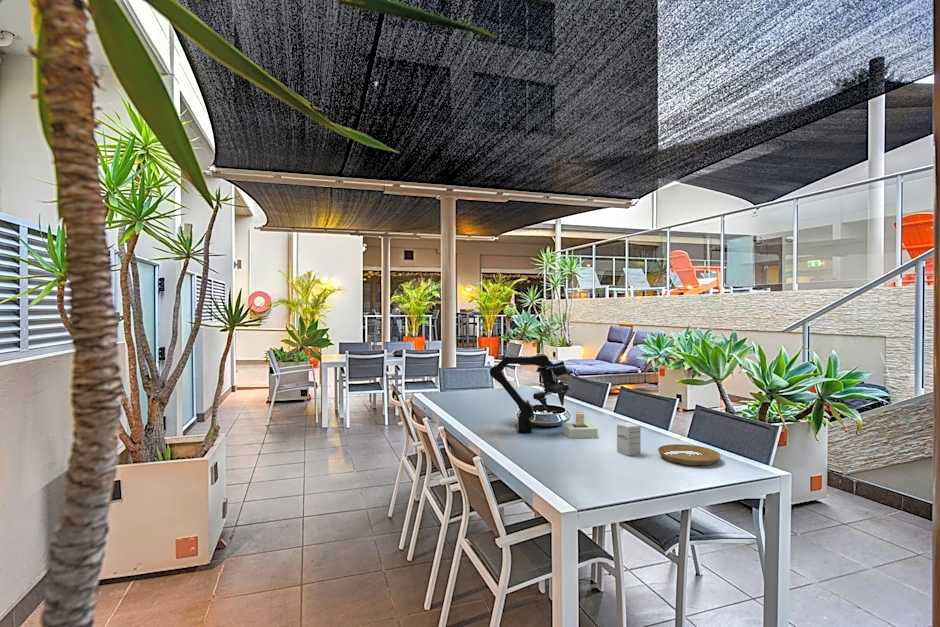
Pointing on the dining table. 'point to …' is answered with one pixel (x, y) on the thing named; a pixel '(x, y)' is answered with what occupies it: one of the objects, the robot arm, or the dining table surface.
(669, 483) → the dining table surface
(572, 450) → the dining table surface
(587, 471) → the dining table surface
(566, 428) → the slot box
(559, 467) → the dining table surface
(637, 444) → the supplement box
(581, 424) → the maple block
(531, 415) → the robot arm
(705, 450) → the plant saucer
